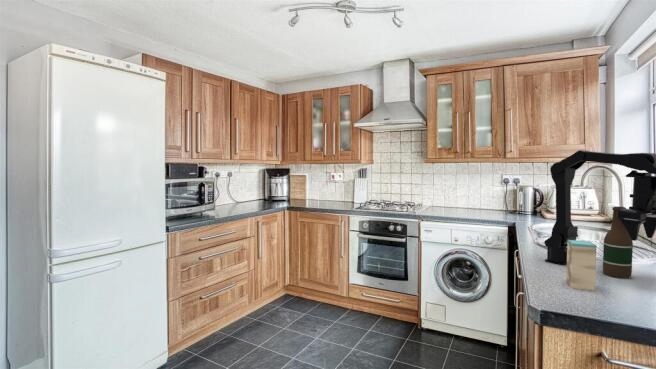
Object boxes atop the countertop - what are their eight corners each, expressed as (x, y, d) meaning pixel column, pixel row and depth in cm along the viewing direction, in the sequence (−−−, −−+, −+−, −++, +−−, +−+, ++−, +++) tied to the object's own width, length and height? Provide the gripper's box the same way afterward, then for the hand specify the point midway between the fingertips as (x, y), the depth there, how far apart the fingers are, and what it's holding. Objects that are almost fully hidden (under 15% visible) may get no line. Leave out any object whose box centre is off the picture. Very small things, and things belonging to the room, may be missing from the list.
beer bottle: (621, 280, 111) (623, 208, 110) (596, 273, 119) (599, 206, 117) (637, 277, 113) (640, 207, 112) (612, 271, 121) (615, 205, 119)
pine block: (566, 281, 109) (567, 239, 109) (588, 284, 107) (590, 241, 106) (571, 287, 104) (572, 243, 103) (595, 290, 102) (596, 245, 101)
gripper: (662, 194, 97) (659, 247, 98) (693, 192, 104) (690, 242, 105) (616, 191, 107) (614, 239, 108) (648, 190, 114) (645, 235, 115)
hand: (642, 239), depth 109 cm, fingers open, 9 cm apart
